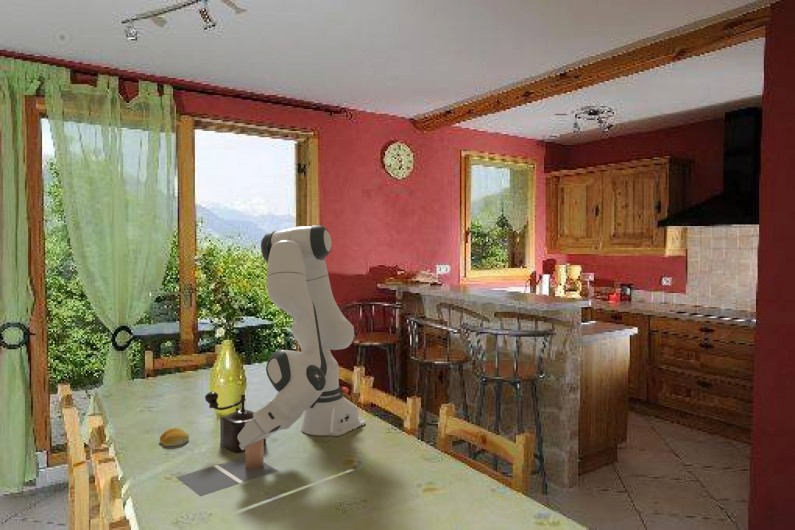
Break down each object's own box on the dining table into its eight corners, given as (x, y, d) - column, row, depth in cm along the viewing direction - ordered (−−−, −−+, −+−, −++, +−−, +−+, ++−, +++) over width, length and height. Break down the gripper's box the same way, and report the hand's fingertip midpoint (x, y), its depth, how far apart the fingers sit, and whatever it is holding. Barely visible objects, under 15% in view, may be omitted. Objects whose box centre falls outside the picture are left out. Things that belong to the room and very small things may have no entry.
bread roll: (166, 449, 166) (166, 436, 166) (157, 441, 173) (156, 429, 173) (193, 443, 172) (193, 430, 172) (183, 435, 179) (183, 423, 178)
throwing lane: (250, 457, 160) (250, 455, 160) (278, 472, 150) (278, 470, 150) (176, 479, 145) (176, 476, 145) (200, 498, 134) (200, 495, 134)
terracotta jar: (258, 460, 157) (257, 419, 156) (267, 465, 153) (267, 423, 152) (241, 465, 153) (241, 423, 152) (250, 471, 149) (250, 427, 149)
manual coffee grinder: (247, 437, 177) (247, 382, 176) (267, 446, 169) (266, 389, 168) (202, 450, 165) (202, 392, 165) (221, 460, 158) (220, 399, 157)
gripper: (297, 393, 159) (270, 421, 163) (251, 413, 140) (222, 444, 144) (310, 410, 157) (282, 438, 161) (265, 433, 138) (235, 464, 143)
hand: (253, 441), depth 153 cm, fingers open, 8 cm apart
